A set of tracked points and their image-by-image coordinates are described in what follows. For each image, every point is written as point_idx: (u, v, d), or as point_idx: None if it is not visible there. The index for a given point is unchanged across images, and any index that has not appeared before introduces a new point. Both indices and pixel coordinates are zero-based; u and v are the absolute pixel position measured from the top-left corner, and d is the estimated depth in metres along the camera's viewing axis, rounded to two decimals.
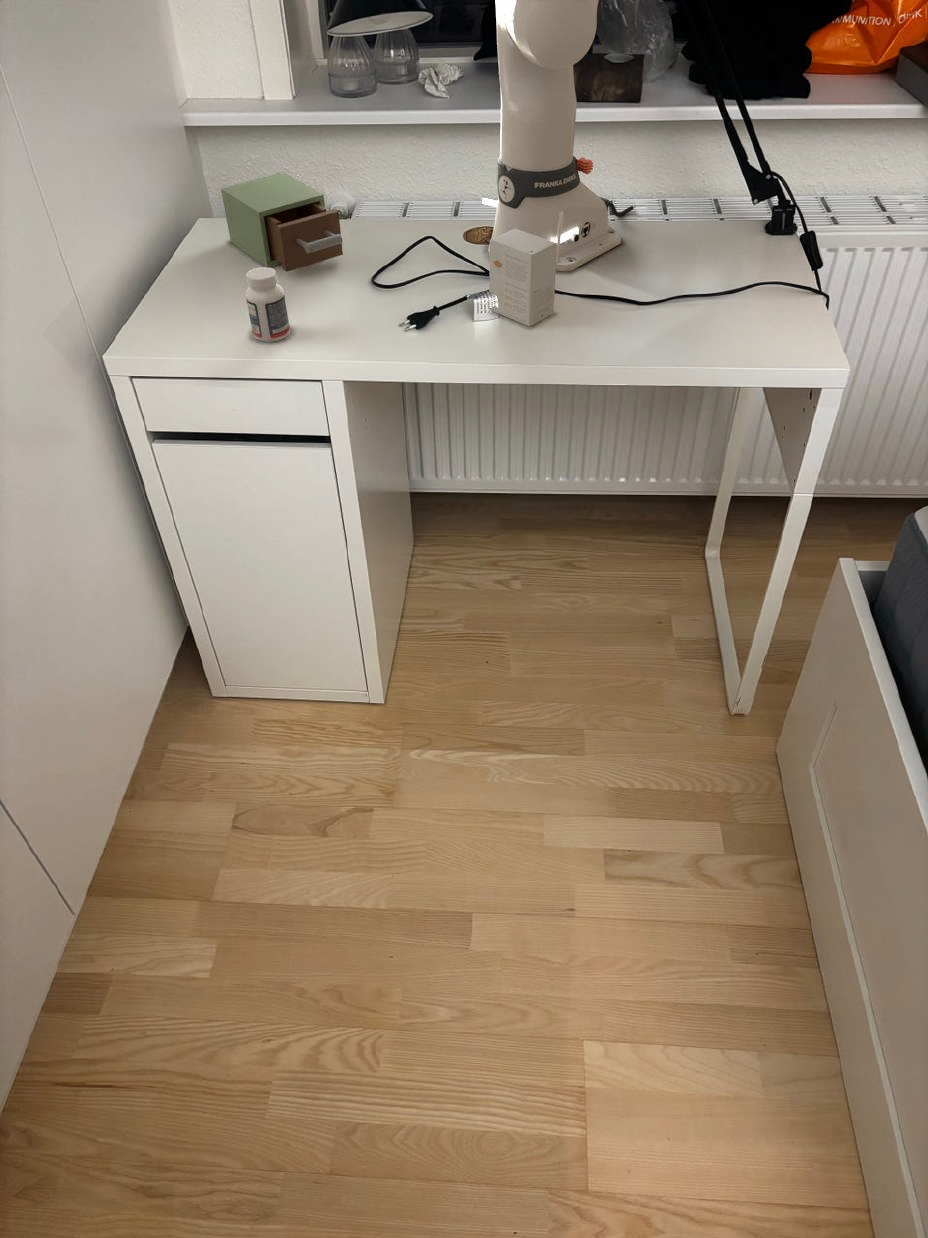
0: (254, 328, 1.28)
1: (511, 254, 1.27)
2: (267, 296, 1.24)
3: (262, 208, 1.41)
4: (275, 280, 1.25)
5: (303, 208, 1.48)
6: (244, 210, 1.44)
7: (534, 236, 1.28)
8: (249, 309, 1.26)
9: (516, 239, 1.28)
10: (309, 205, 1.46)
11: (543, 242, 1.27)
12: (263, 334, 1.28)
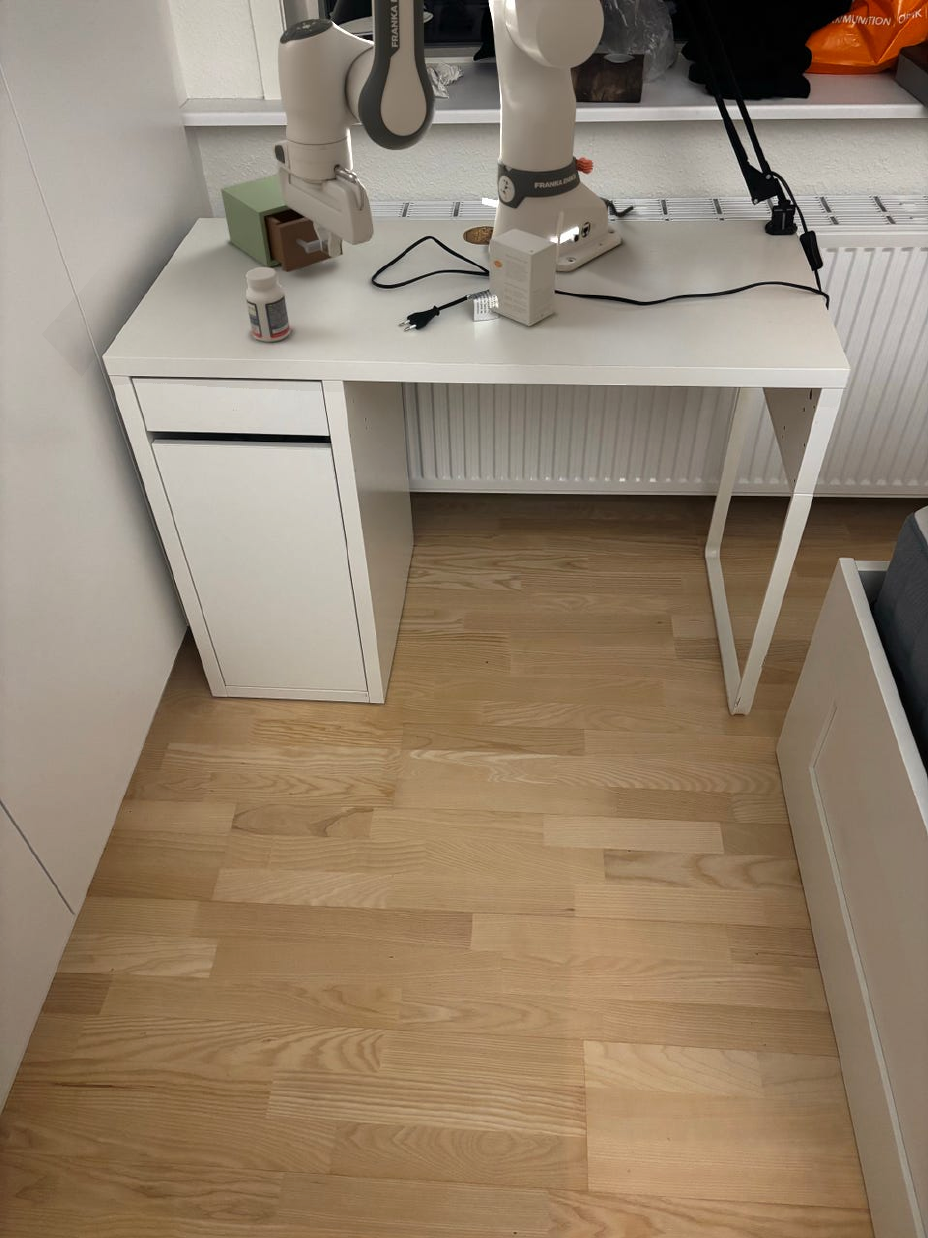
0: (254, 328, 1.28)
1: (511, 254, 1.27)
2: (267, 296, 1.24)
3: (262, 208, 1.41)
4: (275, 280, 1.25)
5: None
6: (244, 210, 1.44)
7: (534, 236, 1.28)
8: (249, 309, 1.26)
9: (516, 239, 1.28)
10: None
11: (543, 242, 1.27)
12: (263, 334, 1.28)
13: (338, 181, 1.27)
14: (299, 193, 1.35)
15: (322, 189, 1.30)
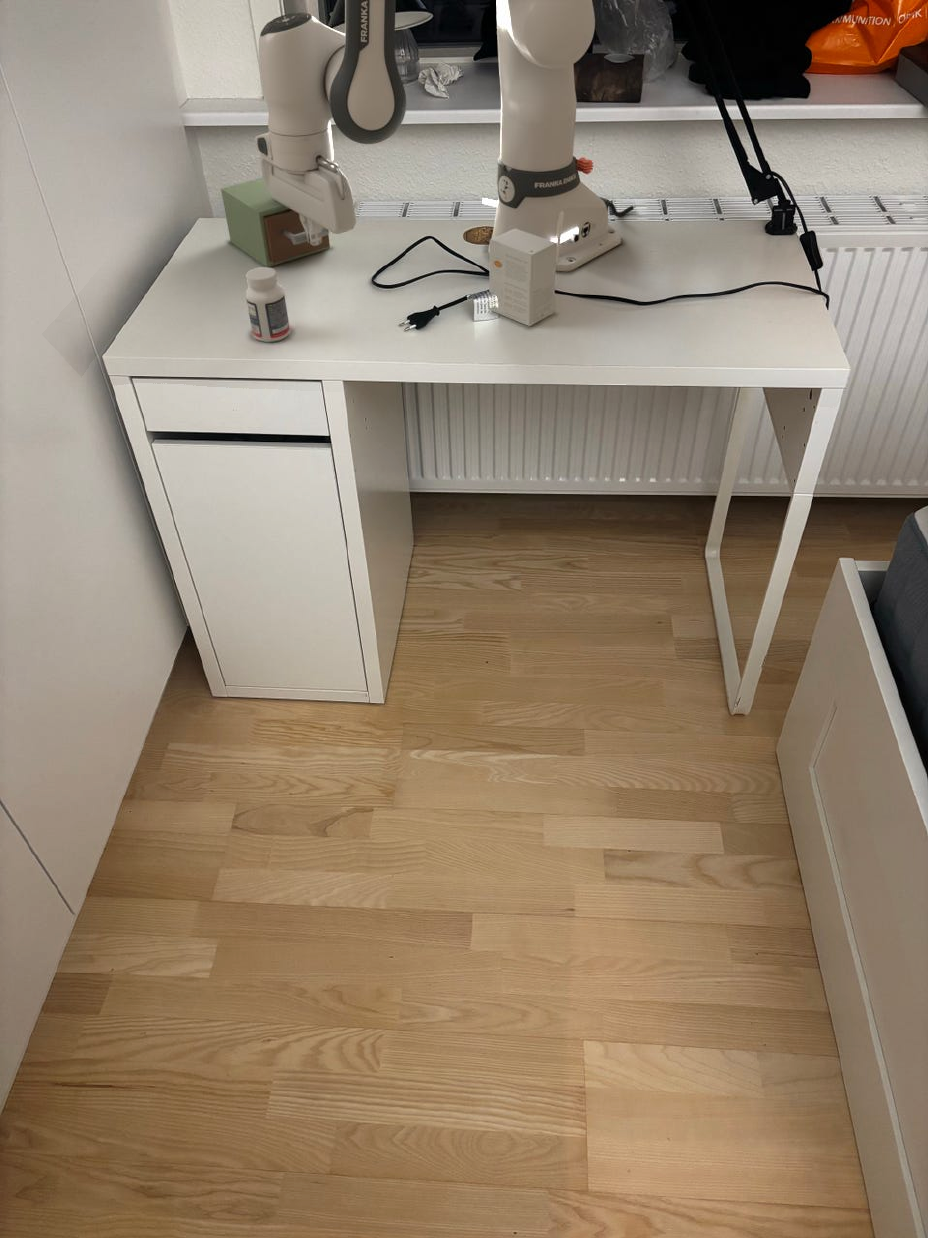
0: (254, 328, 1.28)
1: (511, 254, 1.27)
2: (267, 296, 1.24)
3: (262, 208, 1.41)
4: (275, 280, 1.25)
5: None
6: (244, 210, 1.44)
7: (534, 236, 1.28)
8: (249, 309, 1.26)
9: (516, 239, 1.28)
10: None
11: (543, 242, 1.27)
12: (263, 334, 1.28)
13: (320, 172, 1.30)
14: (282, 185, 1.38)
15: (305, 180, 1.32)
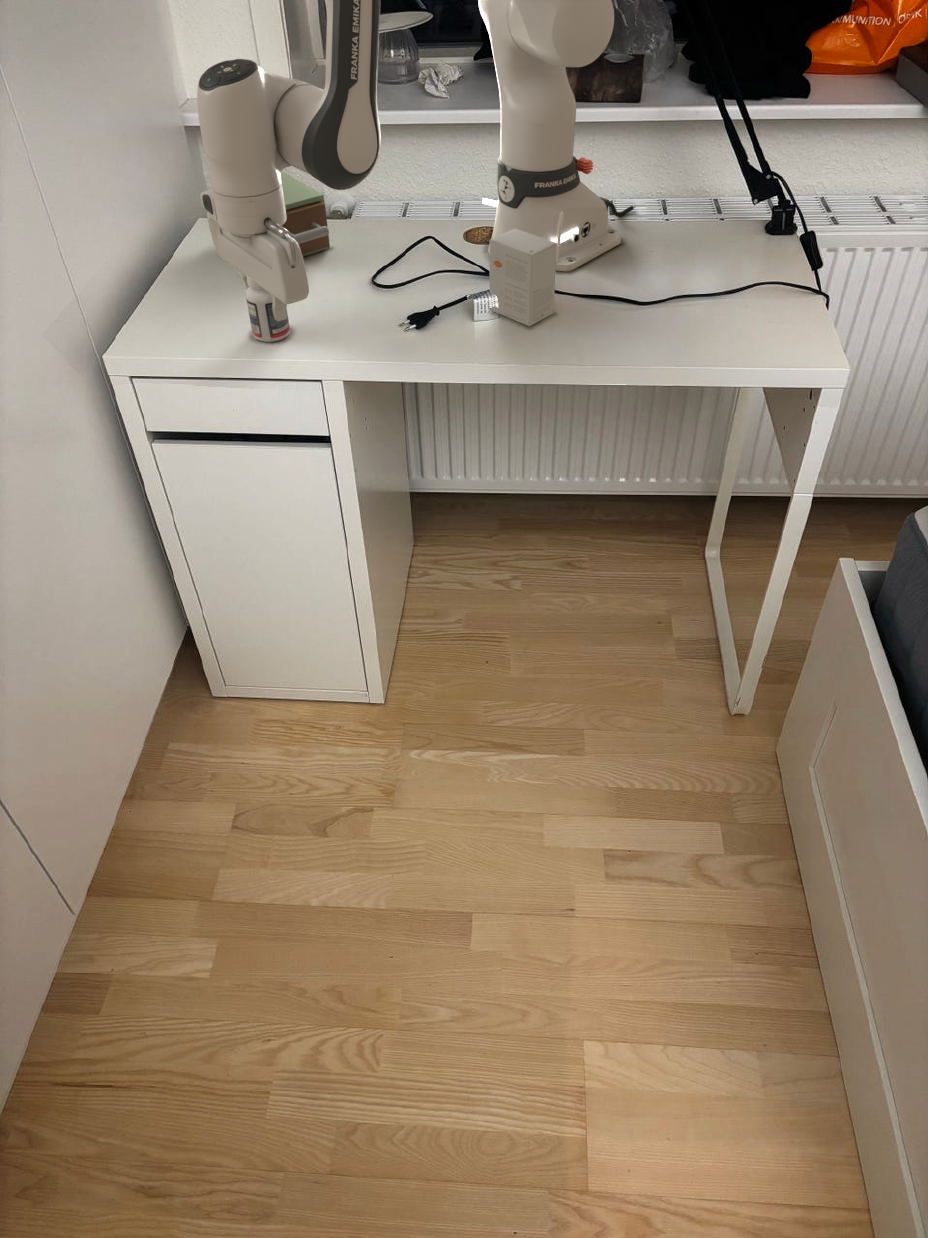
0: (254, 328, 1.28)
1: (511, 254, 1.27)
2: (267, 296, 1.24)
3: None
4: None
5: None
6: None
7: (534, 236, 1.28)
8: (249, 309, 1.26)
9: (516, 239, 1.28)
10: None
11: (543, 242, 1.27)
12: (263, 334, 1.28)
13: (268, 236, 1.16)
14: (231, 246, 1.24)
15: (252, 243, 1.18)
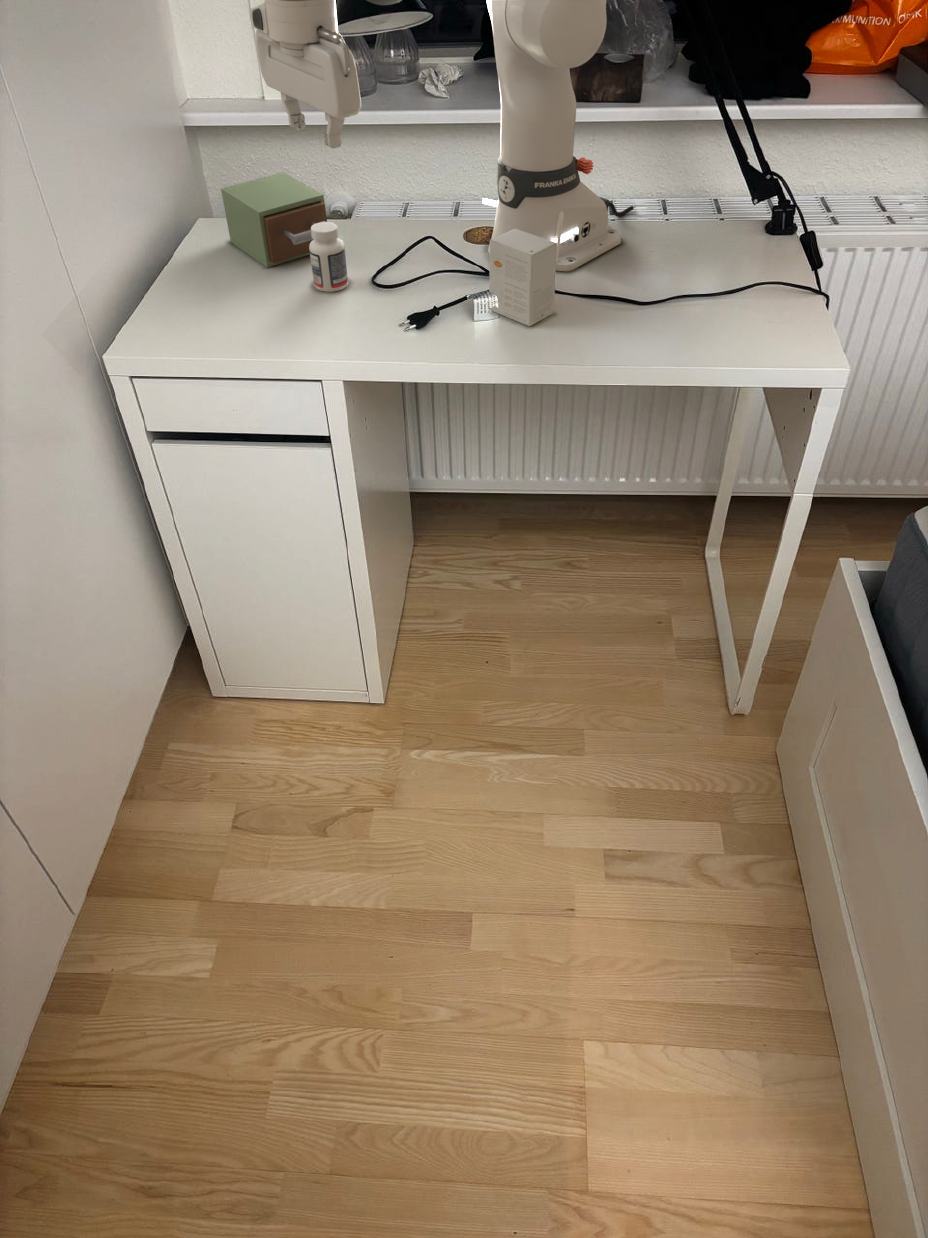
0: (316, 279, 1.39)
1: (511, 254, 1.27)
2: (330, 248, 1.35)
3: (262, 208, 1.41)
4: (337, 233, 1.35)
5: None
6: (244, 210, 1.44)
7: (534, 236, 1.28)
8: (312, 261, 1.37)
9: (516, 239, 1.28)
10: None
11: (543, 242, 1.27)
12: (324, 284, 1.39)
13: (321, 45, 1.15)
14: (280, 67, 1.23)
15: (304, 56, 1.17)
